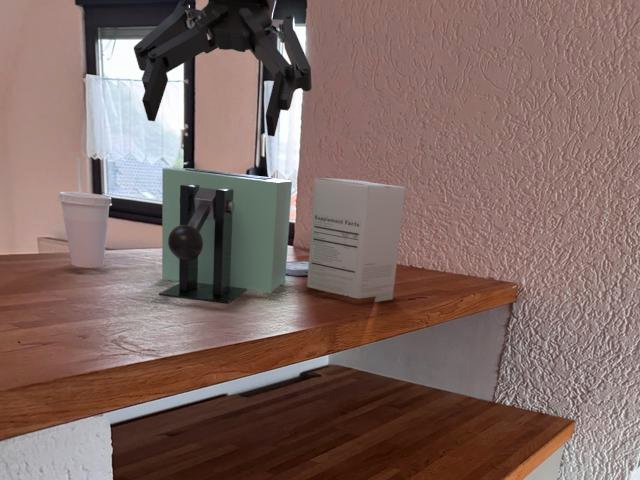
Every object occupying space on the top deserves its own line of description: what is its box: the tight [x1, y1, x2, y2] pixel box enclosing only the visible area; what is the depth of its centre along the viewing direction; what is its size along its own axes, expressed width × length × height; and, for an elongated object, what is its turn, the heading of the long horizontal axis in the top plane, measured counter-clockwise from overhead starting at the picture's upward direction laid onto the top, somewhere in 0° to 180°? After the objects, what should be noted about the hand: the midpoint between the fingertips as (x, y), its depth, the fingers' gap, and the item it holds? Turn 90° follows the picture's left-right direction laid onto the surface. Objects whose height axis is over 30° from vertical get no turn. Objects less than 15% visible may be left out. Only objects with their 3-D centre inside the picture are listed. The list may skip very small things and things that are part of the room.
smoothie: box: [57, 156, 113, 269], centre depth 93 cm, size 6×6×14 cm
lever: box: [168, 188, 216, 261], centre depth 80 cm, size 12×4×4 cm, turn 175°
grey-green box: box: [161, 167, 293, 294], centre depth 95 cm, size 11×14×14 cm
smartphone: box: [286, 260, 309, 276], centre depth 118 cm, size 7×1×15 cm
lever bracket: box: [158, 184, 248, 305], centre depth 85 cm, size 10×8×13 cm
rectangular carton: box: [306, 177, 406, 303], centre depth 98 cm, size 9×9×15 cm
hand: (209, 118), depth 80 cm, fingers open, 13 cm apart
